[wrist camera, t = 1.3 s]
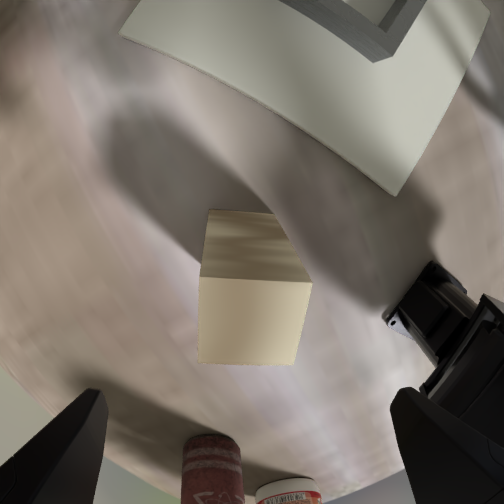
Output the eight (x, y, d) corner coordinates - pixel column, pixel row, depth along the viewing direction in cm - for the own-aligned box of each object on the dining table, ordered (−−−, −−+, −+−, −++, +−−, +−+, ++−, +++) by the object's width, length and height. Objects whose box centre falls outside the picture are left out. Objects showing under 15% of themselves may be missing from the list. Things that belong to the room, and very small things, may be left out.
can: (172, 437, 27) (164, 555, 14) (229, 428, 27) (238, 555, 14) (194, 462, 30) (194, 564, 17) (246, 454, 30) (258, 561, 17)
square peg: (273, 213, 19) (312, 282, 11) (266, 271, 21) (293, 365, 12) (209, 209, 19) (199, 277, 10) (205, 268, 20) (197, 362, 12)
